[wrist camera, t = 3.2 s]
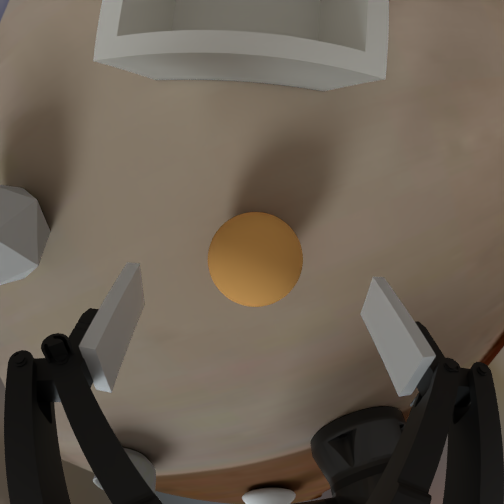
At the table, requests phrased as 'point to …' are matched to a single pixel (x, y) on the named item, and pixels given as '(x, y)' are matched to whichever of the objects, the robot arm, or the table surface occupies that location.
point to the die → (20, 233)
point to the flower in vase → (269, 496)
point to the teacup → (139, 468)
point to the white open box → (247, 40)
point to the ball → (255, 259)
